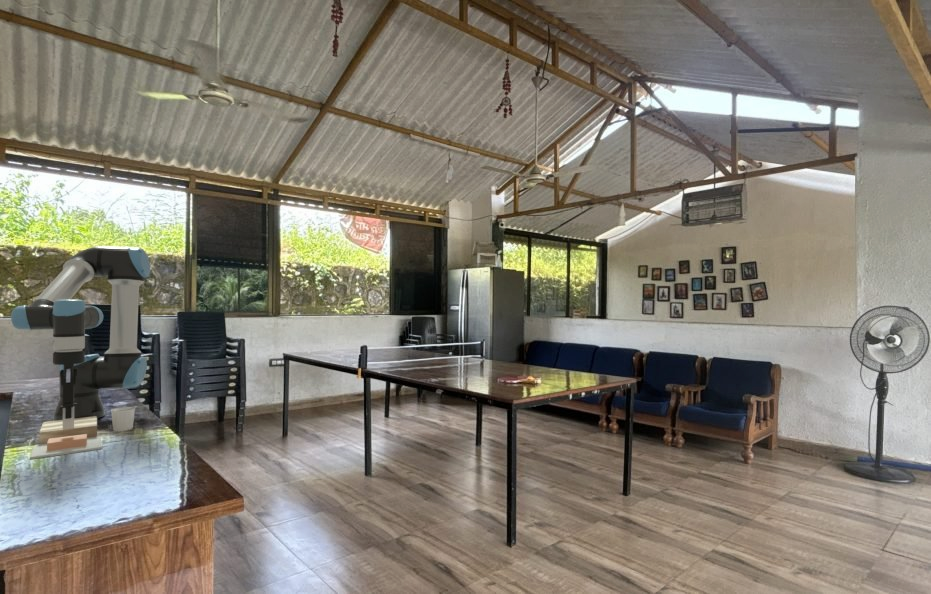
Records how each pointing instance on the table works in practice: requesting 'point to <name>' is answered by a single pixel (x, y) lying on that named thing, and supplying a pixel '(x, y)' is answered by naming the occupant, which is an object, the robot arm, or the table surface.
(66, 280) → the robot arm
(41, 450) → the grey mat
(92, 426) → the board
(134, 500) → the table surface
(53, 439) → the terracotta block
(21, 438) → the table surface
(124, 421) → the shot glass
